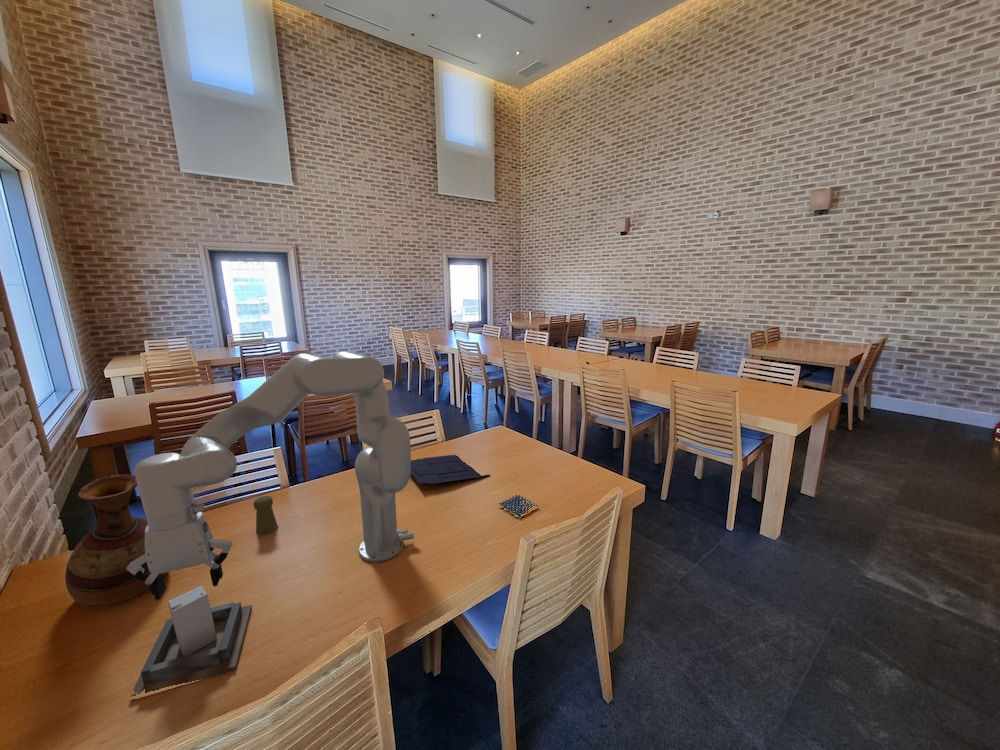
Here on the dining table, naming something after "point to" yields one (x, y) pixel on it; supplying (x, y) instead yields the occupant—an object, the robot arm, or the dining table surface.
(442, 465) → the navy folded cloth
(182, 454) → the robot arm
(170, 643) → the socket stand
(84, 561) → the painted clay vase
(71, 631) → the dining table surface
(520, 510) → the woven mat
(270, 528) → the cork
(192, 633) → the skincare box
